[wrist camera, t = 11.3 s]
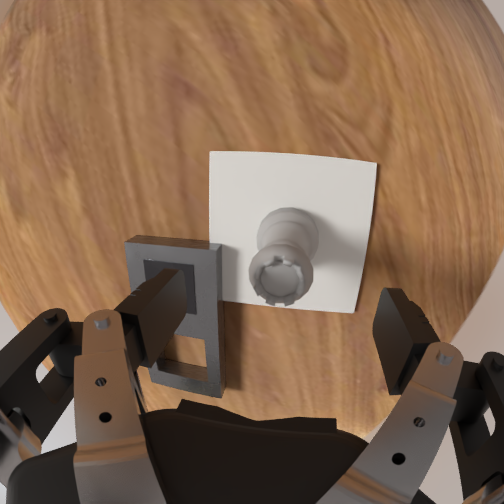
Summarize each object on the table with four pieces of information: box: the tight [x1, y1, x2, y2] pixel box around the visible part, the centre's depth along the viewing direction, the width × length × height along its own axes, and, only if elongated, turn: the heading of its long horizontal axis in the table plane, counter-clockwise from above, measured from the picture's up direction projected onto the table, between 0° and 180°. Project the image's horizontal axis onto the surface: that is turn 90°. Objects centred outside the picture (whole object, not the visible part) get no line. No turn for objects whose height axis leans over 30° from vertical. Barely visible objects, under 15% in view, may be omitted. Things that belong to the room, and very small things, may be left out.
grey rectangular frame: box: [124, 235, 226, 398], centre depth 24 cm, size 16×8×2 cm, turn 178°
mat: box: [209, 151, 377, 313], centre depth 20 cm, size 12×12×1 cm
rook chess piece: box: [249, 207, 319, 307], centre depth 17 cm, size 4×4×8 cm
